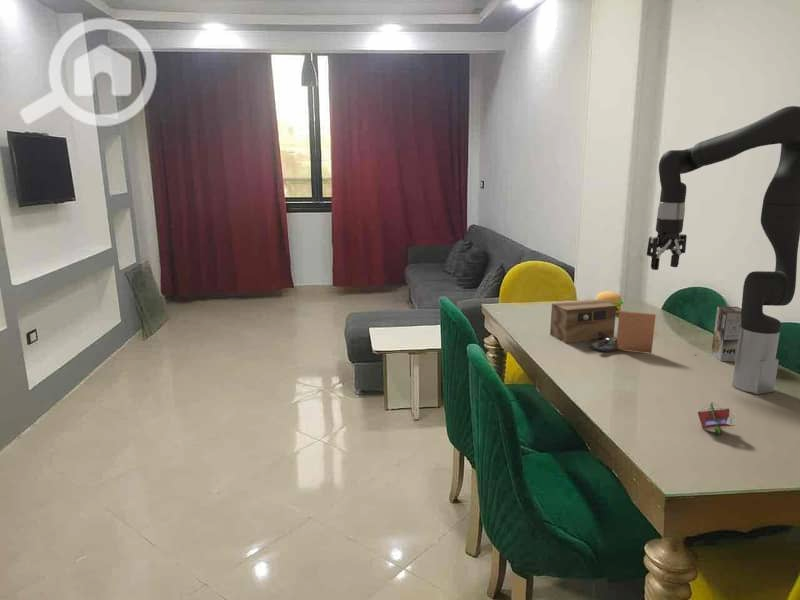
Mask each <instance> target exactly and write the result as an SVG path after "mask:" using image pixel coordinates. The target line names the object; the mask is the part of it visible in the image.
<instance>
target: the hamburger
mask: <svg viewBox="0 0 800 600" xmlns="http://www.w3.org/2000/svg"><path fill="white" fill-rule="evenodd" d="M598 299H600V300H602V301H605V302H608V303H610V304H613V305H616V314H619V312H620V311H622V310H621V309H622V305H623V304H624V300H623V299H622V297H621V295H620V294H618V293H617V292H614V291H611V290H606V291H601V292H599V293H598V294H597V295H596V297H595V298H594V299H593V300H598Z"/></svg>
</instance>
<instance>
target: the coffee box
mask: <svg viewBox="0 0 800 600" xmlns="http://www.w3.org/2000/svg"><path fill="white" fill-rule="evenodd" d="M714 322H715V323H714V330H713V338H712V346H711V353H712V355H714V356H715V357H716V358H717V359H718V360H719V361H721V362H733V363H735V360H736V353H737V346H738V340H739V333H740V327H741V308H740V307H739V306H720V305H719V306H717V307H716V315H715V321H714Z"/></svg>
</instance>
